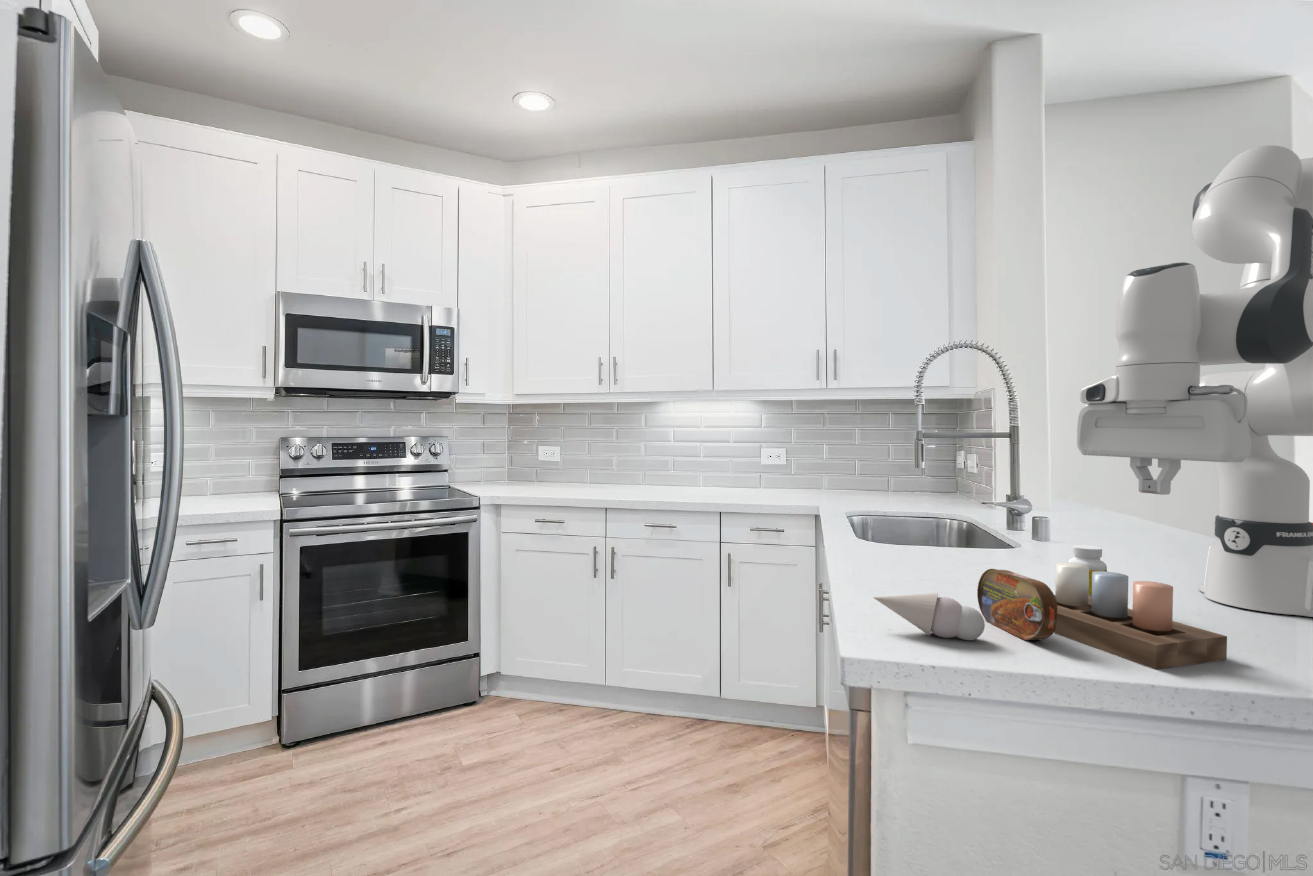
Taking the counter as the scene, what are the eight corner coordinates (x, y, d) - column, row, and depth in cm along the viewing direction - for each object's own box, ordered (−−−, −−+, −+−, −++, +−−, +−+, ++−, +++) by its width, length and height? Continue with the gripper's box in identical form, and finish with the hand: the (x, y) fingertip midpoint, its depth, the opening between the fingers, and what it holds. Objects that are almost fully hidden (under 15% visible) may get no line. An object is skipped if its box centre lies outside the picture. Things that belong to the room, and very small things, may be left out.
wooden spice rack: (1073, 611, 104) (1073, 593, 104) (1226, 659, 83) (1226, 636, 83) (1012, 617, 101) (1012, 598, 101) (1155, 669, 80) (1156, 645, 80)
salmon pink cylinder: (1148, 620, 89) (1148, 580, 89) (1180, 629, 85) (1181, 587, 85) (1124, 622, 88) (1125, 582, 88) (1156, 632, 84) (1156, 589, 84)
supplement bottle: (1112, 611, 104) (1113, 550, 104) (1075, 609, 105) (1076, 549, 105) (1097, 602, 110) (1098, 544, 109) (1061, 600, 111) (1062, 543, 111)
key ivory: (1070, 597, 100) (1070, 562, 100) (1095, 604, 96) (1096, 567, 96) (1048, 599, 99) (1049, 563, 99) (1073, 607, 95) (1073, 569, 95)
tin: (975, 616, 102) (975, 562, 102) (994, 615, 102) (994, 562, 102) (1040, 649, 87) (1040, 586, 87) (1062, 648, 87) (1062, 586, 87)
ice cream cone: (868, 624, 97) (978, 656, 91) (867, 607, 93) (983, 640, 86) (877, 588, 100) (985, 616, 94) (877, 570, 96) (990, 598, 89)
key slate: (1106, 608, 95) (1107, 570, 94) (1135, 616, 91) (1135, 577, 90) (1084, 610, 93) (1084, 572, 93) (1112, 619, 89) (1112, 579, 89)
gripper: (1266, 384, 76) (1263, 501, 77) (1103, 392, 96) (1101, 485, 96) (1227, 383, 75) (1224, 503, 75) (1069, 391, 94) (1068, 487, 95)
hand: (1154, 493), depth 86 cm, fingers closed
